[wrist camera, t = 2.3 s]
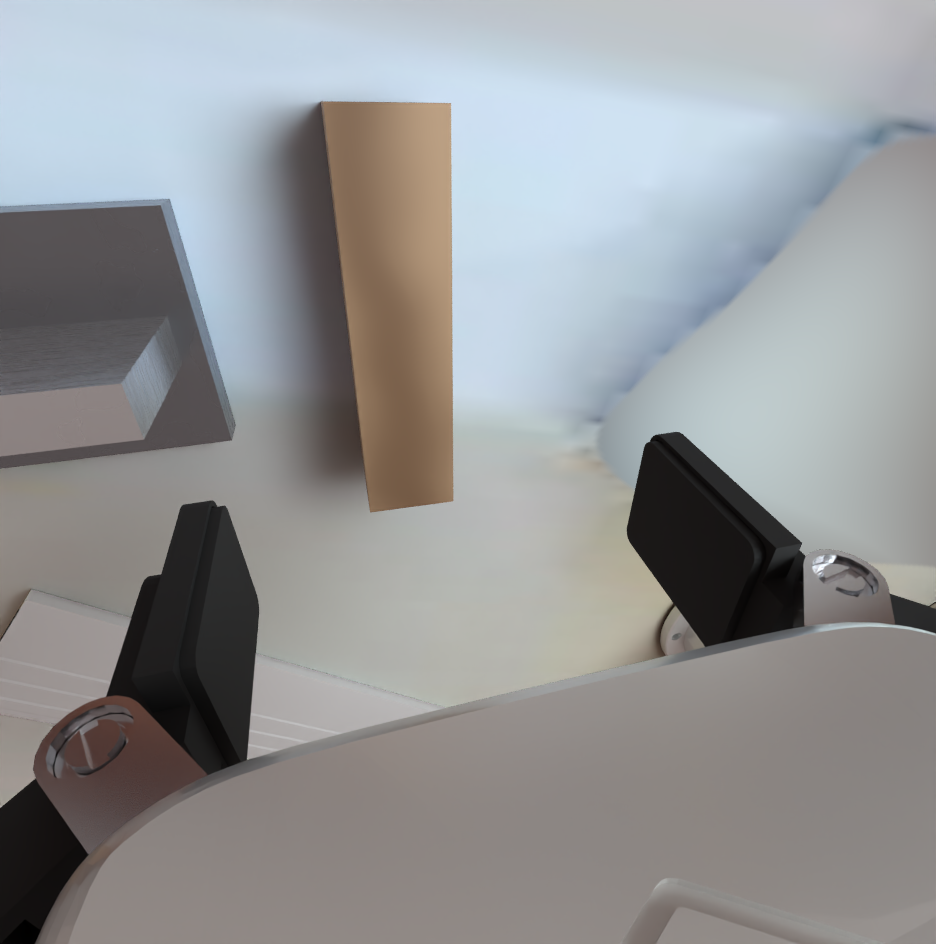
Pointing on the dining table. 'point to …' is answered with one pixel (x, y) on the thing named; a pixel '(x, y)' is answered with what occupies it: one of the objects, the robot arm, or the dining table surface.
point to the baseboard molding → (96, 654)
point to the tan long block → (397, 290)
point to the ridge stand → (102, 335)
